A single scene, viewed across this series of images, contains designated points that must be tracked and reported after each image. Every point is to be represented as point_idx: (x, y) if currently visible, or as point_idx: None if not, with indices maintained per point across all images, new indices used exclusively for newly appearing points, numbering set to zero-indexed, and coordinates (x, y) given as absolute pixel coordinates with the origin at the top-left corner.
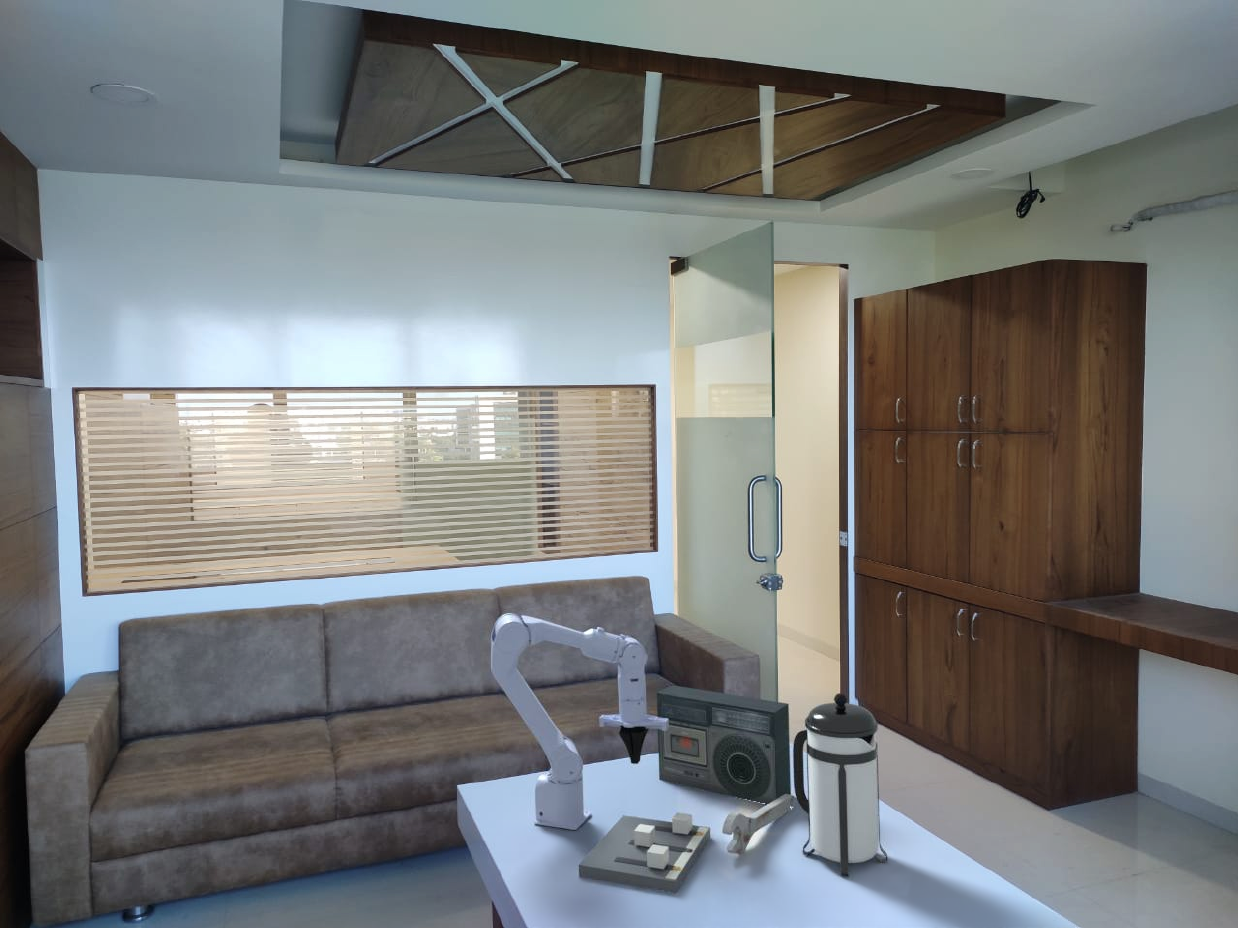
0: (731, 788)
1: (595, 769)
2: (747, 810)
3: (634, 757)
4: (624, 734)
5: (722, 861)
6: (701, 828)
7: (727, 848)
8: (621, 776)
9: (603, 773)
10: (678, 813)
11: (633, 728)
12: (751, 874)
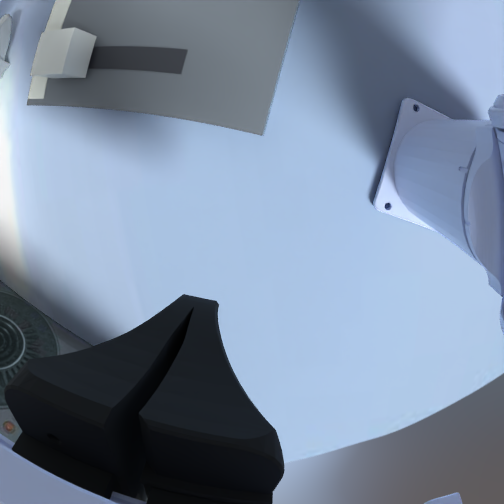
0: (39, 326)
1: (355, 433)
2: (11, 253)
3: (184, 309)
4: (204, 428)
5: (32, 18)
6: (40, 91)
7: (7, 16)
8: (299, 415)
9: (339, 423)
10: (59, 67)
11: (148, 494)
12: (5, 3)
